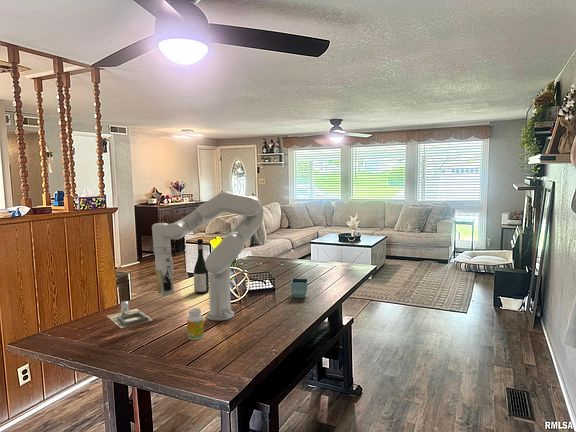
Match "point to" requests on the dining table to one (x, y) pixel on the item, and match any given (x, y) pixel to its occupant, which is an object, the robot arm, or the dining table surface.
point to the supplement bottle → (195, 324)
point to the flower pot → (299, 287)
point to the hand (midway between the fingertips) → (165, 288)
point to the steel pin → (124, 308)
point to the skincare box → (161, 285)
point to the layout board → (129, 318)
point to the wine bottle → (201, 272)
